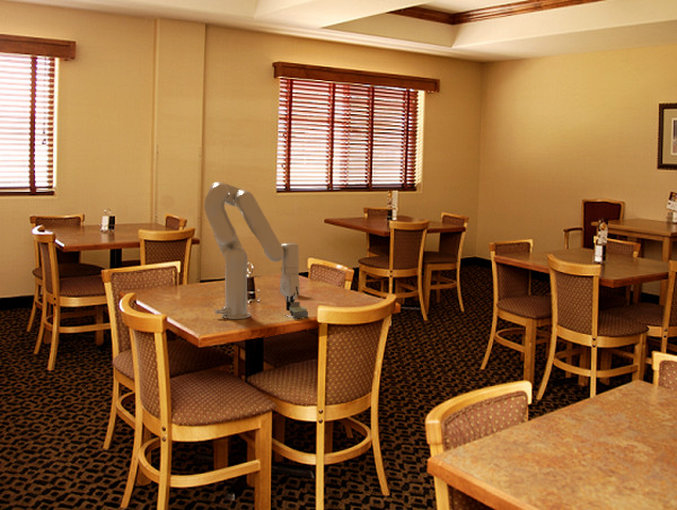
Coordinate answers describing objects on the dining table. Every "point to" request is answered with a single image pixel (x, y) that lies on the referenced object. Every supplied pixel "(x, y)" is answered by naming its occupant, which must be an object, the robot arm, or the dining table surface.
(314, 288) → the dining table surface
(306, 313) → the dock
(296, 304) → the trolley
